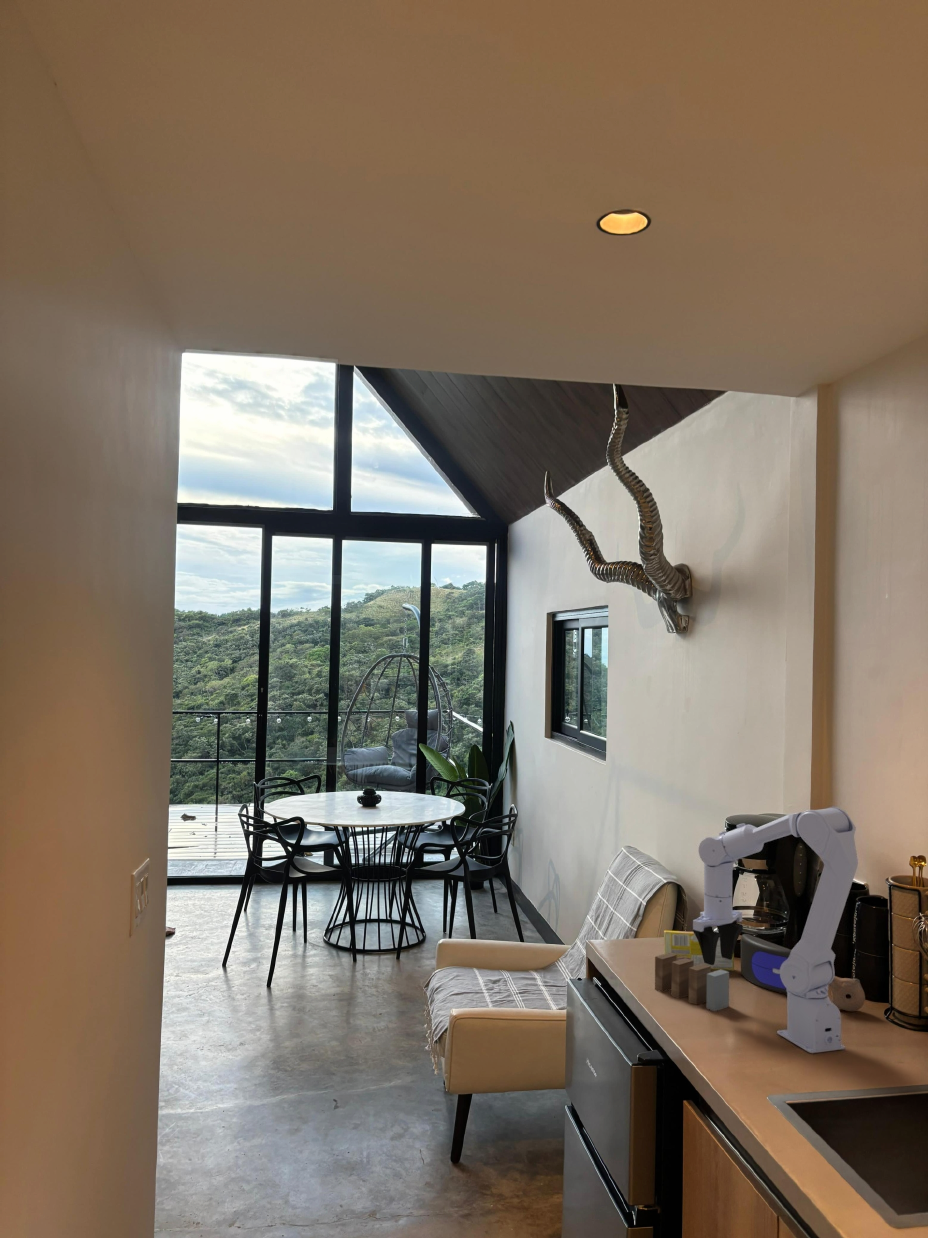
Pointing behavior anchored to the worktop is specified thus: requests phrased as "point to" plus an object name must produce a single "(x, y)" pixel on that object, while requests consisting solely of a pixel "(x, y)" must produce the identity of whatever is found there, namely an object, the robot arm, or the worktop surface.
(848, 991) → the oil lamp
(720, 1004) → the slate domino
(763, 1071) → the worktop surface
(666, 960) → the domino
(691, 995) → the domino
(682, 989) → the domino
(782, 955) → the dark grey curved shell
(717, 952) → the candy box
